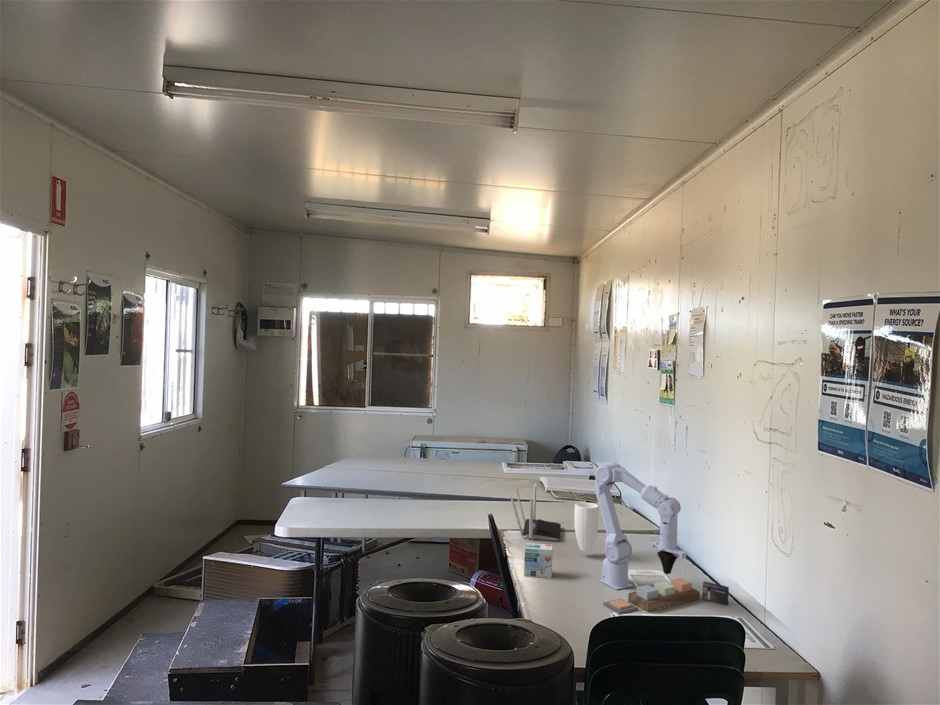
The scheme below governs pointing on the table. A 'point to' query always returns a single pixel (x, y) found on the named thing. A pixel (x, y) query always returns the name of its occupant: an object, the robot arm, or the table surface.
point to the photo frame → (645, 574)
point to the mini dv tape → (715, 593)
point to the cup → (586, 524)
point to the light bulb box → (538, 560)
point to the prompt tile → (620, 606)
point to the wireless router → (536, 522)
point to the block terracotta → (681, 585)
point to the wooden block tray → (663, 600)
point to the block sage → (664, 588)
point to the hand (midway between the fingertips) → (667, 573)
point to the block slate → (647, 592)
